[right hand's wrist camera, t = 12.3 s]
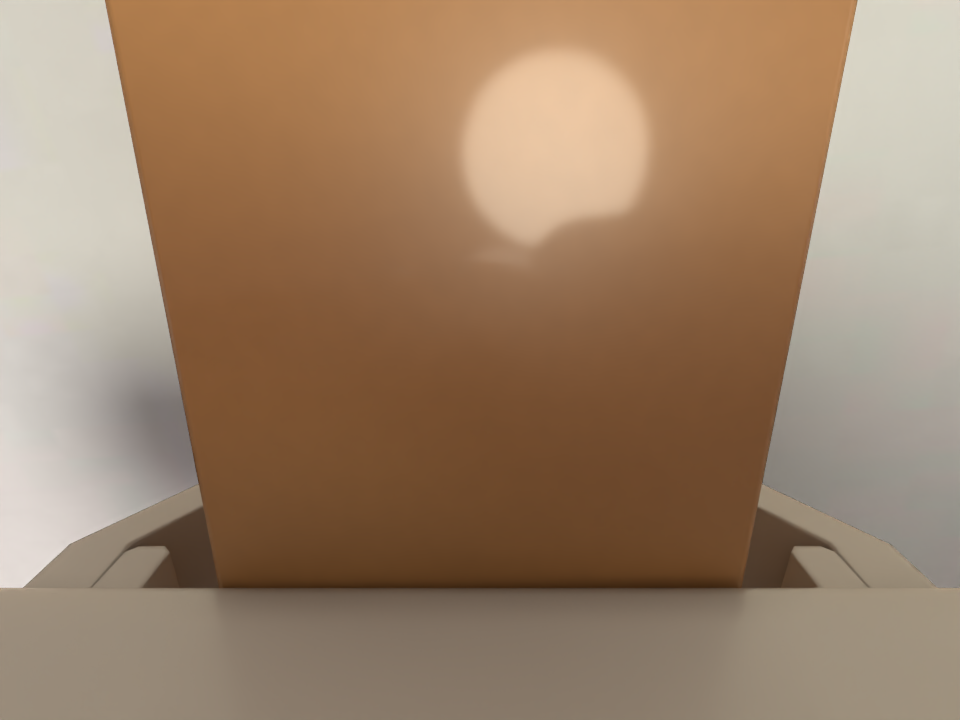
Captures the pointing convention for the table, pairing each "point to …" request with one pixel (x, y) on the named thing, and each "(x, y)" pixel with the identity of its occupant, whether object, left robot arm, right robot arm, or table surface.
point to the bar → (480, 276)
